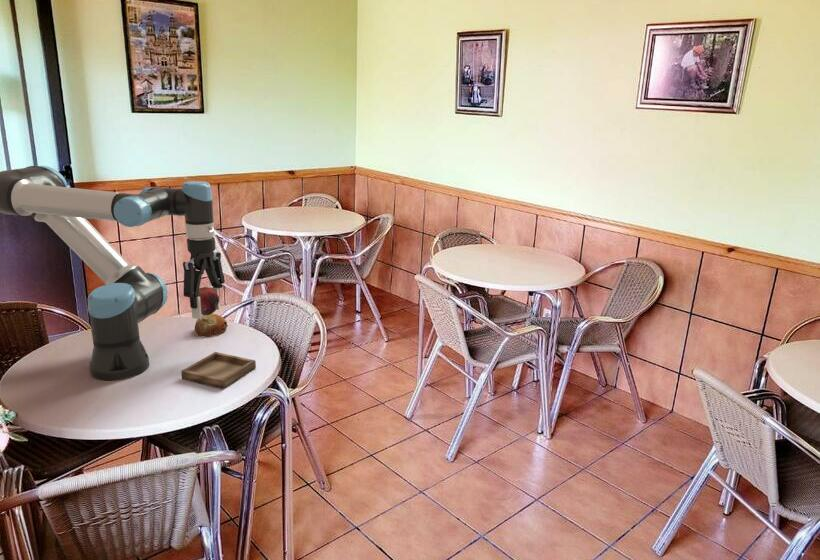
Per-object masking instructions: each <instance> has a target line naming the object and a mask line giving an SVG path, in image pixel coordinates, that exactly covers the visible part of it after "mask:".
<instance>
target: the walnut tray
mask: <svg viewBox="0 0 820 560" xmlns="http://www.w3.org/2000/svg"><path fill="white" fill-rule="evenodd" d="M256 367H257V366H256V360H255V359H250V358H245V357H240V356H236V355H231V354H227V353H222V352H218V351H214V352H213V353H211V354H209V355H207V356H205V357H203V358H202V359H199V360H198V361H197V362H195V363H193V364H191V365H189V366H187V367H186V368H184V369H182V370H181V372H180V374H181V380H184V381H188V382H190V383H196V384H200V385H204V386H208V387H213V388H217V389H220V390H225V389H227V388H229V387H231V386H232V385H233V384H235V383H236V382H237V381H239V380H241V379H242V378H244V377H246V376H247V375H248V374H250V373H252V370H253V371H254V370H256V369H257V368H256ZM255 368H256V369H255ZM249 372H250V373H249ZM246 374H247V375H246Z"/></svg>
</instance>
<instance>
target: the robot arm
mask: <svg viewBox="0 0 820 560" xmlns="http://www.w3.org/2000/svg"><path fill="white" fill-rule="evenodd" d="M67 185H68V183H67V181H66V178H65V177H64V176H63V175H62V173H60V172H59V171H58V170H57V169H55V168H53V167H50V166H47V165H30V166H26V167H22V168H15V169H9V170H7V169H6V170H2V171H0V213H1V214H4V215H11V216H12V215H13V216H21V217H22V216H23V217H26V216H31V217H32V218H33V219H34V220H35V221H36V222H41V223H45V224H46V225H47V226H49V228H50V229H51V230H52V231H53V232H54V233H55V234H56V235H57V236H58V237H59V238H60V239H61V240H62V241H63V242H64V243H65V244H66V245H67V246H68V247H69V248H70V249H71V250H72V251H73V252H74V253H75V254H76V255H77V256H78V257H79V258H80V260H81V261H83V263H85V265H86V266H87V267H89V268H90V269H91V270H92V272H93V273H94V274H96V276H97V277H98V278H99V279H100V280H101V281H103V283H104V284H105V285H101V286H98V287H96V288H95V289H93V290H92V291H91V292H90V293H89V294H88V297H87V312H88V316H89V323H90V331H91V337H92V345H93V348H92V355H91V359H90V361H89V365H88V367H89V374H90V376H91V377H93V378H94V379H96V380H101V381H116V380H124V379H129V378H132V377H134V376H138V375H139V374H142V373H143V372H145V371H146V370H148V369H149V367H150V356H149V354H148V353H147V351H146V349H145V347H144V345H143V343H142V341H141V339H140V338H141V337H140V329H139V324H140V323H142V322H143V321H144V320H146V319H147V318H149V317H151V316H152V315H155V314H156V313H157V312H158V311H160V310H161V309H162V308H163V307H164V306H165V305H166V303H167V301H168V297H169V296H168V293H169V292H168V287H167V285H166V283H165V281H164V280H163V278H161V276H159V275H158V274H155V273H150V272H145V270H143V268H142V267H140V266H139V264H138V265H135V264H130V263H129V262H128V260H126V259H125V258H124V257H123V255H122V254H121V253H120V252H119V251H117V249H116V248H114V246H113V245H112V244H111V243H110V241H108V240H107V239H106V238H105V237H104V235H102V234H101V233H100V232H99V231H98V229H96V228H95V226H93V225H92V224H91V222H90V221H89V220H91V219H92V220H100V221H110V222H118V223H119V224H121V225H122V226H124V227H128V228H133V227H140V226H142V225H144V224H147V223H150V222H151V221H154V220H156V219H160V218H162V217H165V216H180V217H182V216H183V217H184V220H185V221H184V222H185V223H184V224H185V225H184V226H185V235H186V237H187V238H186V245H187V246H186V247H187V251H188V252H189V254H190V258H189V260H188V261H183V263H182V267H183V297H186V298H189V305H190V309H191V318H192V319H197V320H198V319H202V314H201V301H200V297H198V292H199V288H201V287H200V286H201V281H202V276H203V274H204V273H206V276H207V278H208V280H209V284H210V286H211V287H210V288H211V289H212V290H214V291H215V292H216V293H217V294H218V296H219V304H218V306H217V309H216V310H217V311H218V310H221V302H220V301H221V299H220V298H221V293H220V292H221V290H220V289H222V288H223V287H224V284H225V277H224V273H223V266H222V261H221V259H222V258H221V257H222V256H221V255H222V253H221V252H219V251H215V250H216V248H217V247H216V239H215V237H214V236H215V224H214V223H215V222H214V210H213V209H214V208H213V207H214V206H213V196H212V186H211V184H210V183H209V182H207V181H203V180H190V181H185V182H183V183H182V184H181V186H182V187H181V188H176V187H175V188H172V187H169V188H168V187H159V186H153V187H152V186H151V187H149V186H148V187H144V188H142V190H141V191H140V192H139V193H137V194H136V193H134V194H133V193H125V192H124V193H123V192H116V191H106V190H96V189H85V188H77V187H67ZM88 219H89V220H88Z"/></svg>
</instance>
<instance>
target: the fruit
mask: <svg viewBox="0 0 820 560" xmlns="http://www.w3.org/2000/svg"><path fill="white" fill-rule="evenodd" d="M198 297H200V301H201V314H202V315H210V314H214V313H215V312H217V311H216V310H217V306H218V304H219V296H218V294H217V293H216V292H215V291H214V290H212V289H211V287H208V286H203V287H199V292H198Z"/></svg>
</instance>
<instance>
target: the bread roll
mask: <svg viewBox="0 0 820 560" xmlns="http://www.w3.org/2000/svg"><path fill="white" fill-rule="evenodd" d="M228 326H229V325H228V322H227V320H226V318H225V317H223V316H221V315H219V314H216V313H212V314H210V315H202V319H197V320H196V321H195V325H194V332H195V334H196V335H197V336H199V337H206V338H208V337H209V338H210V337H215V336H219V335H221V334H224V333H225V332H226V331H227V328H228Z"/></svg>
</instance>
